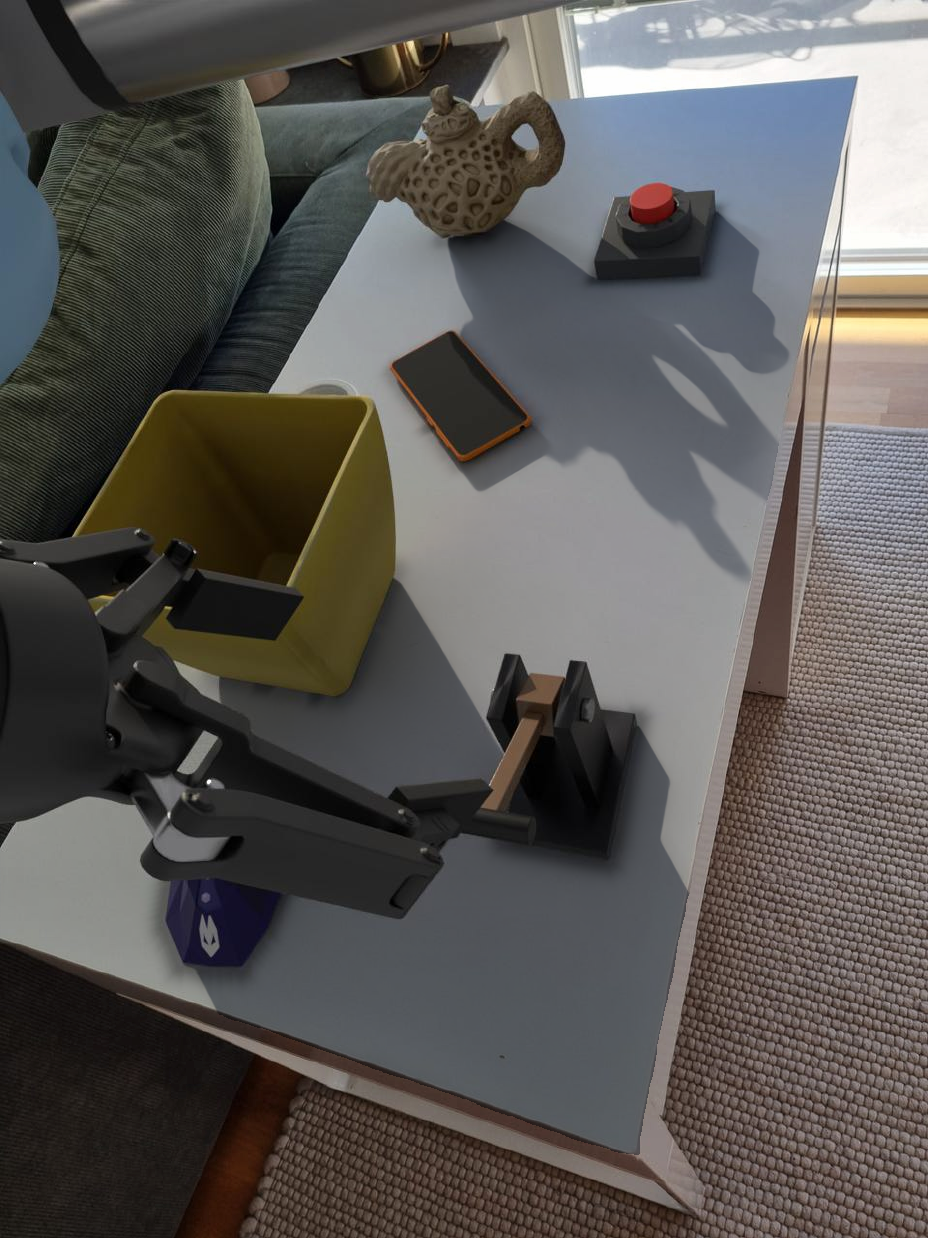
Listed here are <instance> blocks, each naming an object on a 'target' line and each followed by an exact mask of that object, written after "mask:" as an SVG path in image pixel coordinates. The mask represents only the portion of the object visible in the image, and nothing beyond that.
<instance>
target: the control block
mask: <svg viewBox="0 0 928 1238" xmlns="http://www.w3.org/2000/svg"><path fill="white" fill-rule="evenodd" d="M670 187H671V188H672V190H673V197H674V208H675V209H674V212H673V214H672V215H671V216H670V217H669V218H668V219H665V220H663V221H660V222H658V223H654V224H640V223H637V222H635V221H634V220H633V218H632V212H631V204H630V198H631V195H632V194H630V195H625V196H615V197H613V199H612V203H611V205H610V209H609V212H608V215H607V217H606V221H605V225H604V228H603V231H602V235H601V237H600V241H599V244H598V247H597V251H596V254H595V256H594V260H593V263H594V269H595V275H596V280H598V281H600V280H602V281H603V280H605V281H606V280H627V279H652V278H676V277H700V276H702V271H703V267H704V262H705V260H706V259H705V258H706V254H707V249H708V245H709V241H710V236H711V232H712V227H713V223H714V218H715V213H716V211H717V210H716V209H717V208H716V190H715V189H707V190H694V191H685V190H684V189H680V188H678V187H673V186H670Z"/></svg>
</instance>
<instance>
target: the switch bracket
mask: <svg viewBox="0 0 928 1238" xmlns="http://www.w3.org/2000/svg"><path fill="white" fill-rule="evenodd" d="M528 676H529V673H528V670H527V668H526V666H525V664H524V661H523V659H522V656H521V654H518V653H508V652H505V653H504V654H503V658H502V661H501V665H500V667H499V671H498V674H497V678H496V682H495V685H494V687H493V689H492V691H491V694H490V701H489V702H490V703H489V705H488V709H487V712H486V717H485V720H486V721H487V723H488V725H489V727H490V729H491V731H492V732H493V734H494V736H495V738H496V740H497V742H498V744H499V746H500V748H501V750H502V752H503V755H504V754H505V752H506V750H507V748H508V746H509V744H510V742H511V740H512V738H513V736H514V734H515V732H516V730H517V728H518V726H519V725H518V716H517V707H516V699H517V697H518V695H519V693H520V691H521V689H522V687H523V685H524V683H525V681H526V679H527V678H528ZM564 677H565V681H564V685H563V689H562V693H561V697H560V701H559V705H558V709H557V713H556V717H555V721H554V725H553V728H554V731H555V733H556V735H555V737H550V736H543V735H540V737H539V739H538V741H537V744H536V746H535V748H534V750H533V752H532V754H531V756H530V759H529V761H528V763H527V765H526V767H525V769H524V772H523V774H522V776H521V778H520V780H519V782H518V784H517V787H516V789H515V791H514V793H513V795H512V797H511V799H510V802H509V804H510V805H509V807H508V811H507V812H510V813H516V814H521V815H527V816H533V817H535V819H536V833H535V837H534V840H533V843H532V844H531V845H530V846H535V847H539V848H545V849H550V850H555V851H560V852H561V851H562V852H566V853H571V854H577V855H583V856H588V857H594V858H599V859H603V860H610V857H611V853H612V848H613V842H614V837H615V832H616V828H617V823H618V818H619V813H620V809H621V804H622V799H623V794H624V788H625V784H626V780H627V779H626V778H627V774H628V768H629V763H630V759H631V754H632V748H633V745H634V741H635V740H634V739H635V736H636V735H635V734H636V730H637V724H638V720H637V717H636V713H633V712H627V711H617V710H610V709H602V708H601V705H600V702H599V699H598V696H597V692H596V689H595V685H594V683H593V679H592V676H591V672H590V668H589V666H588V662H587V661H583V660H576V659H575V660H573V659H570V660H569V661H568V665H567V670H566V673H565V676H564Z"/></svg>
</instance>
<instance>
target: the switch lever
mask: <svg viewBox="0 0 928 1238" xmlns="http://www.w3.org/2000/svg"><path fill="white" fill-rule="evenodd" d="M528 675H529V676H528V678H527V679H526V681H525V683H524V685H523V687H522V689H521V691H520V693H519V695H518V697H517V699H516V707H517V716H518V725H519V726H518V728H517V730H516V732H515V734H514V736H513V738H512V740H511V742H510V744H509V746H508V748H507V750H506V752H505V754H504V753H503V756H502V758H501V760H500V762H499V764H498V766H497V768H496V770H495V772H494V774H493V775H492V778H491V780H490V781H489V783H488V785H489V786H490V787H491V788H492V789H493V792H492V793H491V794H490V796H489V797H488V798H487V800H486V801H485V802H484V803H483V805H482V806H481V807H480V809H479V810H478V811H477V813H476V814H475V815H474V816H473V818H472V819H471V820H470V822H469V823H468V824H467V826H466V827H465V828H464V829H463V831H462V832H461V833H460V834H464V835H468V836H474V837H479V838H485V839H489V840H495V841H501V842H507V843H510V844H511V843H512V844H516V845H520V846H521V845H522V846H527V847H531V846H532V845H531V844H532V843H533V840H534V837H535V833H536V819H535V817H533V816H527V815H521V814H516V813H510V812H508V811H506V810H507V808H508V806H509V804H510V803H511V800H512V796H513V793H514V791H515V789H516V787H517V784H518V782H519V780H520V778H521V776H522V774H523V772H524V769H525V767H526V765H527V763H528V761H529V759H530V756H531V754H532V752H533V750H534V748H535V746H536V744H537V741H538V739H539V737H540V735H543V736H550V737H555V735H556V733H555V731H554V728H553V725H554V721H555V717H556V713H557V709H558V705H559V701H560V697H561V693H562V689H563V685H564V681H565V677H566V676H563V675H562V676H561V675H553V674H552V675H551V674H544V673H536V672H530V673H528Z"/></svg>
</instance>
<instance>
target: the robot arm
mask: <svg viewBox="0 0 928 1238" xmlns="http://www.w3.org/2000/svg"><path fill="white" fill-rule="evenodd" d="M584 2H589V0H0V386H2V385H3V383H5V381H6V380H7V379H8V378H9V377H10V375H11V374H12V373H13V372H14V371H15V370H17V368H18V367H19V366H20V365H22V364H23V362H24V361H25V359H26V358H27V356H28V355H29V353H30V352H31V351H32V350H33V348H34V346H35V344H36V343H37V342H38V340H39V338H40V336H41V334H42V333H43V330H44V329H45V326H46V325H47V323H48V321H49V318H50V316H51V313H52V309H53V305H54V302H55V298H56V295H57V291H58V290H57V289H58V285H59V278H60V267H61V266H60V265H61V256H60V247H59V237H58V236H59V235H58V225H57V222H56V221H57V220H56V218H55V216H54V213H53V211H52V209H51V207H50V206H49V204H48V202H47V200H46V199H45V197H44V196H43V195H42V193H41V192H40V191H39V189H38V188H37V187H36V185H35V184H34V183H33V182H32V181H31V179H30V178H29V171H28V170H29V163H30V157H31V148H30V146H29V143H28V140H27V136H26V134H25V133H29V132H30V133H31V132H34V131H38V130H43V129H47V128H52V127H55V126H60V125H65V124H70V123H74V122H78V121H82V120H87V119H91V118H94V117H98V116H99V117H100V116H104V115H107V114H111V113H116V112H119V111H123V110H126V109H131V108H135V107H137V106H141V105H143V103H145V102H149V101H154V100H159V99H162V98H163V99H164V98H167V97H171V96H175V95H180V94H185V93H190V92H193V91H198V90H202V89H206V88H207V89H208V88H211V87H215V86H220V85H224V84H229V83H232V82H237V81H242V80H246V79H250V78H255V77H259V76H265V75H268V74H273V73H277V72H281V71H286V70H289V69H294V68H299V67H303V66H307V65H311V64H316V63H320V62H325V61H329V60H330V61H331V60H333V59H338V58H342V57H347V56H352V55H356V54H360V53H364V52H368V51H369V52H370V51H374V50H377V49H382V48H386V47H390V46H395V45H399V44H403V43H408V42H413V41H417V40H421V39H425V38H430V37H435V36H439V35H444V34H447V33H452V32H456V31H461V30H465V29H470V28H474V27H478V26H483V25H487V24H491V23H492V24H493V23H496V22H501V21H504V20H510V19H515V18H517V17H522V16H526V15H532V14H536V13H539V12H544V11H548V10H549V11H550V10H552V9H557V8H561V7H567V6H571V5H575V4H580V3H584ZM154 544H155V539H154V538H153V537H152V536H151V535H150V534H149V533H148V532H147V531H145V530H143V529H141V528H136V527H128V528H122V529H116V530H110V531H105V532H99V533H93V534H87V535H82V536H76V537H72V536H70V537H65V538H59V539H54V540H48V541H42V542H29V541H19V540H13V539H12V540H11V539H4V538H0V825H2V824H3V825H4V824H11V823H19V822H25V821H28V820H31V819H35V818H39V817H40V816H42V815H45V814H47V813H49V812H51V811H54V810H55V809H58V808H60V807H62V806H64V805H67V804H69V803H73V802H74V801H76V800H79V799H83V798H89V797H90V798H97V799H103V800H107V801H111V802H114V803H118V804H121V805H127V806H135V808H136V810H137V811H138V813H139V815H140V816H141V817H142V820H143V821H144V823H145V825H146V827H147V828H148V831H150V834H151V836H152V838H151V840H149V842H148V844H147V845H146V847H145V848H144V849H143V852H142V853H141V855H140V857H139V858H140V859H139V863H140V866H141V867H142V869H143V870H144V871H145V873H146V874H148V875H149V876H150V877H152V878H153V879H156V880H159V881H162V882H171V881H181V880H195V879H209V878H217V879H221V880H226V881H230V882H234V883H239V884H243V885H248V886H252V887H257V888H261V889H265V890H270V891H274V892H279V893H282V894H283V895H286V896H287V895H288V896H292V897H296V898H301V899H305V900H309V901H315V902H319V903H323V904H328V905H332V906H336V907H340V908H346V909H350V910H353V911H354V910H355V911H358V912H363V913H366V914H372V915H375V916H380V917H385V918H390V919H394V920H402V919H404V918H405V917H406V915H407V914H408V913H409V912H410V910H411V909H412V907H413V906H414V905H415V904H416V903H417V902H418V900H419V899H420V897H421V896H422V895H423V894H424V892H425V891H426V890H427V888H428V887H429V885H430V884H431V883H432V882H433V880H434V879H435V878H436V877H437V875H438V874H439V873H440V871H441V870H442V869H443V868H444V865H445V861H444V858H443V856H442V855H441V853H440V852H441V851H442V850H443V848H444V847H445V846H446V844H447V843H448V842H449V841H450V840H452V839H453V840H454V839H457V838H459V836H460V835H461V834H462V833H461V832H462V831H463V829H464V828H465V827H466V826H467V824H468V823H469V822H470V820H471V819H472V818H473V816H474V815H475V814H476V813H477V811H478V810H479V809H480V807H481V806H482V805H483V803H484V802H485V801H486V800H487V798H488V797H489V796H490V794H491V793H492V792H493V789H492V788H491V787H490V786H489V783H487V782H486V781H485V780H484V779H483V778H482V777H479V778H467V779H457V780H448V781H447V780H446V781H436V782H427V783H416V784H406V785H397V786H395V787H394V788H393V789H392V791H391V793H390V794H389V795H388V796H387V797H386V796H383V795H382V794H380V793H378V792H376V791H373V790H371V789H369V788H367V787H364V786H362V785H361V784H359V783H357V782H354V781H352V780H351V779H350V780H349V779H348V778H346V777H344V776H342V775H340V774H338V773H336V772H333V771H332V770H329V769H327V768H324V767H323V766H320V765H319V764H316V763H314V762H313V761H311V760H308V759H306V758H304V757H302V756H300V755H297V754H296V753H293V752H291V751H289V750H288V749H285V748H283V747H282V746H281V747H280V746H279V745H277V744H274V743H272V742H270V741H268V740H266V739H265V738H262V737H261V736H257V735H255V733H254V732H252V727H251V726H252V725H251V721H250V719H249V717H248V716H246V715H245V714H243V713H242V712H239V711H237V710H235V709H233V708H231V707H230V706H227V705H225V704H223V703H220V702H219V701H216V700H214V699H212V698H211V697H208V696H207V695H204V694H202V693H201V692H200V691H199V689H198V688H197V687H195V686H194V685H193V684H192V683H191V682H190V681H188V679H186V678H185V677H184V676H183V675H182V674H181V672H180V671H179V668H178V666H177V664H176V663H175V661H174V660H172V658H171V657H170V656H169V655H168V654H167V652H166V651H165V650H164V649H163V648H162V647H158V646H154V645H153V644H152V643H150V642H149V641H147V640H146V639H144V638H143V637H142V636H143V634H144V633H145V632H146V631H147V630H148V628H149V627H150V626H151V625H152V624H153V622H154V621H155V620H156V619H157V618H158V616H159V615H160V614H161V613H162V611H163V609H164V608H165V606H167V607H172V609H171V610H170V612H169V614H168V615H167V617H166V619H167V621H168V622H169V623H170V624H171V625H172V627H173V628H174V629H180V630H188V631H197V632H205V633H214V634H222V635H230V636H239V637H247V638H256V639H264V640H272V641H276V639H277V638H278V636H279V635H280V633H281V632H282V630H283V629H284V627H285V626H286V624H287V623H288V621H289V620H290V618H291V617H292V615H293V614H294V612H295V611H296V609H297V607H298V606H299V604H300V603H301V601H302V600H303V598H304V596H303V595H302V594H301V593H300V592H299V591H298V590H297V589H296V588H293V587H288V586H283V585H278V584H273V583H268V582H263V581H258V580H253V579H248V578H243V577H238V576H233V575H228V574H222V573H217V572H212V571H207V570H202V569H191V568H190V566H191V564H192V563H193V561H194V559H195V558H196V556H197V554H198V553H197V551H196V550H195V549H194V548H193V547H192V546H191V545H189V544H188V543H186V542H184V541H182V540H179V539H172V541H171V542H170V544H169V545H168V547H167V549H166V550H165V552H164V554H163V555H162V556H161V557H160V556H159V555H158V554H157V553H155V552H154V551H153V550H152V547H153V545H154ZM129 585H130V587H129ZM127 587H129V588H128V589H127V590H126V591H125V590H124V589H126V588H127ZM119 590H121V591H120V592H119V593H118V594H117V595H116V596H115V597H114V598H113V599H112V600H111V601H110V602H109V603H107V604H106V605H105V606H104V605H103V606H102V607H101V608H100V609H99V610H97V611H96V612H95V613H94V611H93V609H92V607H91V605H90V604H89V602H88V600H89V599H92V598H95V597H99V596H102V595H106V594H109V593H112V592H116V591H119ZM204 732H206V733H208V734H210V735H213V736H215V737H216V740H215V741H214V743H213V744H212V746H211V748H210V749H209V750H208V752H207V753H206V755H205V756H204V758H203V759H202V760H201V762H200V764H199V765H198V767H197V769H196V770H195V771H193V772H192V773H189V774H188V773H183V772H180V771H178V770H179V768H180V767H181V765H182V764H183V763H184V761H185V760H186V758H187V757H188V756H189V754H190V753H191V751H192V750H193V748H194V747H195V745H196V744H197V742H198V741H199V739H200V737H201V736H202V734H203V733H204Z"/></svg>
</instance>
